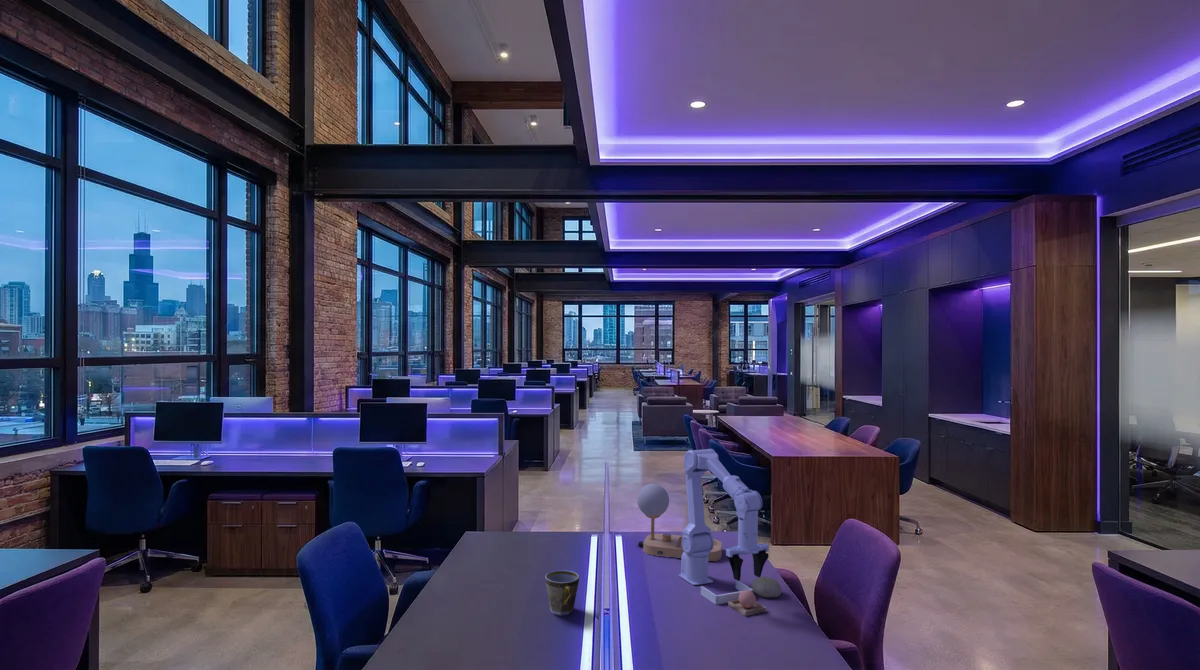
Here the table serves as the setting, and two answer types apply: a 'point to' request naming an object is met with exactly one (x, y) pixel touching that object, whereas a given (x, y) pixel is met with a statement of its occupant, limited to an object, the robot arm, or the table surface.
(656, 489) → the lamp
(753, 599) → the ball
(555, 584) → the ceramic cup
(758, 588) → the sea urchin shell
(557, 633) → the table surface
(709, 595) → the white u-shaped arch
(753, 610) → the tray
